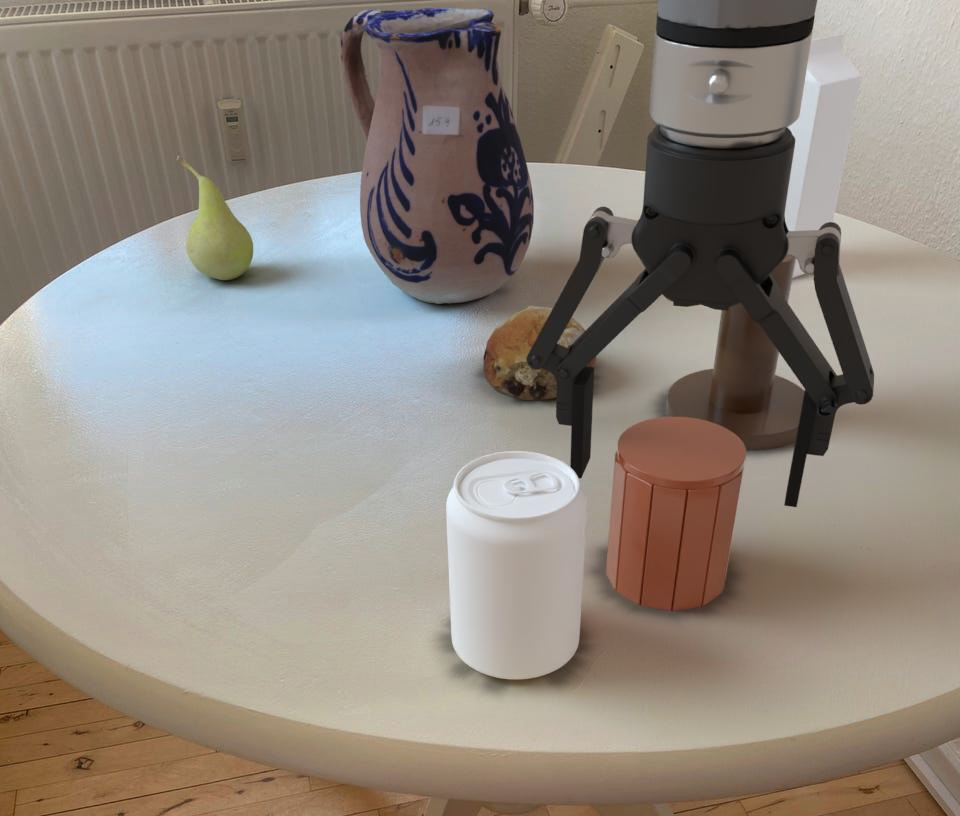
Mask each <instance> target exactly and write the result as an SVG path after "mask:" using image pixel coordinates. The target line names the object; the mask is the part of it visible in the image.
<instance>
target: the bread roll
mask: <svg viewBox="0 0 960 816" xmlns="http://www.w3.org/2000/svg"><path fill="white" fill-rule="evenodd" d="M552 309H553V307H546V306H538V305H528V306H527V307H525V308H524V309H523V310H519V311H518V312H516V313H514V314H512V315H511V316H509V317H508V318H507V319H506V320H504V322H503V323H502V324H500V325H498V326H497V327H495V328H494V330H493V331H492V333H491V335H490V336H489V338H488V340H487V341H486V346H485V350H484V354H483V374H484V377H485V379H486V382H487V383H488V384H489V385H490V386H491V388H493V390H495V391H496V392H498V393H500V394H503V395H506V396H509V397H510V398H513V399H518V400H521V401H541V400H542V401H543V400H544V401H545V400H554V399H556V386H557V383H556V379H555V377H554V375H553V374H552V373H550V372H549V371H547V370H544V369H542V368H541V369H533V368H531V367H530V366H529V365H528V363H527V355H528V353H529V352H530V350H531V348H532V346H533V344H534V342H535V341H536V339H537V337H538V335H539V333H540V331H541V329H542V328H543V326H544V324H545V322H546V320H547V318H548V317H549V315H550V313H551V311H552ZM585 331H586V330H585V328H584V327H583V325H582V324H581V323H579V321H577V320H576V319H575V318H574V317H573V316H572V317H571V319H570V321H569V323H568V325H567V326H566V328H565V330H564V332H563V334H562V335H561V337H560V339H559V341H558V342H557V344H559V345H562V346H564V347H566V348H567V347H568V346H569V345H570V346H571V345H572V344H573V343H574V342H575V341H576V340H577V339H578V338H579V337H580V336H581V335H582V334H583V333H584V332H585ZM596 362H597V356H596V357H595V358H594V359H593V360H592V361H591V362H590V363H589V364H588V365H587V367H594V368H595V366H596Z"/></svg>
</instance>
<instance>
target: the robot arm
mask: <svg viewBox="0 0 960 816" xmlns="http://www.w3.org/2000/svg"><path fill="white" fill-rule="evenodd" d="M817 5H818V0H657V11H656V12H657V13H656V21H655V24H656V25H655V30H654V42H653V53H652V54H653V55H652V68H651V83H650V95H649V107H648V108H649V109H648V113H649V115H650V118H651V120H653V122H655V123H656V124H657V125H655V127H654V128H653V129H652V130H651V132H650V133H649V134H648V135H647V141H646V155H645V171H644V185H643V186H644V187H643V201H642V211H641V214H640V216H639V217H640V218H638V220H637V219H631V218H627V217H626V218H625V217H621V216H615V215H614V213H613V211H612V210H611V208H610V207H607V206H599V207H596V209H595V210H594V211H593V212H592V215H591V216H590V218H588V219H589V220H588V221H587V222H586V223H585V225H584V228H583V232H582V239H581V246H580V253H579V260H578V262H577V263H576V265H575V267H574V269H573V270H572V272H571V274H570V276H569V278H568V280H567V282H566V283H565V285H564V287H563V289H562V291H561V292H560V294H559V297H558V298H557V301H556V302H555V304H554V305H553V307H552V308H553V309H552V311H551V313H550V315H549V317H548V318H547V320H546V322H545V324H544V326H543V328H542V329H541V331H540V333H539V335H538V337H537V339H536V341H535V342H534V344H533V346H532V348H531V350H530V352H529V353H528V355H527V363H528V365H529V366H530V367H531V368H533V369H541V368H542V369H544V370H547V371H549V372H550V373H552V374H553V375H554V377H555V379H556V383H557V386H556V398H555V403H556V405H555V418H556V420H557V423H558V425H559V426H560V425H561V426H570V427H571V428H570V461H569V462H570V463H569V466H570V467H571V468H572V469H573V470H574V471H575V473H576V474H577V476H578V478H579V479H582V478H583V475H584V474H585V472H586V469H587V467H588V464H589V462H590V460H591V456H592V455H591V453H592V452H591V451H592V432H593V431H592V430H593V429H592V428H593V409H594V408H593V407H594V406H593V405H594V381H595V379H594V378H595V366H594V367H587V365H588V364H589V363H590V362H591V361H592V360H593V359H594V358H595V357H596V358H597V356H598V355H599V354H600V353H601V352H602V351H603V350H604V349H605V348H606V347H607V346H608V345H610V343H611V342H612V341H614V340H615V339H616V337H618V335H620V334H621V333H622V332H623V331H624V330H625V329H626V328H627V327H628V326H629V325H630V324H631V323H632V322H633V321H634V320H635V319H636V318H637V317H638V316H639V315H640V314H641V313H644V312H645V311H646V310H647V309H648V308H649V307H650V306H652V304H654V303H655V301H657V300H658V299H659V298H660V297H661V296H663V298H664V297H665V299H667V300H668V301H670V302H671V303H673V304H672V305H673V307H683V308H684V307H685V308H689V307H696V306H704V307H707V308H709V309H711V310H712V309H713V310H716V311H721V310H726V311H728V310H729V307H733V306H736V305H738V304H740V303H741V304H742V305H743V306H744V308H745V309H746V311H747V312H748V314H749V315H750V316H751V318H752V319H753V320H754V321H755V322H756V323H759V324H760V326H761V327H762V328H763V330H764V331H765V333H766V334H767V336H768V337H769V338H770V340H771V341H772V343H773V344H774V346H775V347H776V348H777V350H778V351H779V355H781V357H782V359H783V360H784V361H785V363H786V364H787V366H788V368H789V369H790V370H791V371H792V374H794V376H795V377H796V379H797V380H798V381H799V383H800V384H801V386H802V388H804V391H805V392H804V398H803V403H802V409H801V414H800V420H799V425H798V430H797V436H796V441H794V448H793V452H792V459H791V464H790V468H789V469H790V470H789V475H788V481H787V484H786V485H787V486H786V491H785V499H784V506H785V507H791V508H797V507H798V502H799V496H800V491H801V487H802V481H803V476H804V471H805V467H806V461H807V455H810V456H817V457H818V456H820V457H824V456H825V454H826V453H827V451H828V450H829V447H830V441H831V437H832V432H833V426H834V422H835V418H836V417H835V416H836V413H837V411H838V410H839V409H840V408H841V407H842V406H844V405H847V404H853V403H854V404H856V405H860V406H861V405H862V406H863V405H866V404H868V403H870V402H871V401H872V399H873V397H874V391H875V390H874V387H875V385H874V384H875V371H874V368H873V366H872V362H871V359H870V356H869V353H868V350H867V346H866V343H865V340H864V337H863V334H862V331H861V328H860V327H861V326H860V324H859V321H858V318H857V315H856V312H855V309H854V305H853V303H852V299H851V296H850V293H849V290H848V287H847V284H846V281H845V278H844V275H843V272H842V269H841V265H840V259H841V258H840V256H841V255H840V254H841V242H842V229H841V226H840V225H839V224H838V223H836V222H834V221H833V222H828V223H825V224H824V225H822V226H821V227H820V229H819V230H809V231H789V230H788V228H787V226H786V222H785V207H786V200H787V194H788V187H789V181H790V174H791V167H792V161H793V154H794V148H795V137H794V136H793V135H792V132H791V131H790V130H789V129H788V128H787V127H789V126H790V125H792V124H793V123H794V122H795V121H796V120H797V119H798V118H799V115H800V109H801V102H802V96H803V89H804V83H805V77H806V70H807V64H808V57H809V51H810V44H811V40H812V37H813V30H814V24H815V19H816V15H815V14H816V9H817ZM627 244H630V245H632V249H633V250H634V252H635V254H636V255H637V257H638V259H639V260H640V262H641V264H642V265H643V267H644V268H645V269H643V270H642V271H641V272H640V274H639V275H638V276H637V277H636V278H635V279H634V281H632V283H631V284H630V285H629V286H628V287H627V288H626V289H625V290H624V291H623V292H622V293H621V294H620V295H619V296H618V297H617V298H616V299H615V300H614V301H613V302H612V303H611V304H610V305H609V306H608V307H607V308H606V309H605V310H604V311H603V312H602V313H601V314H600V315H599V316H598V318H596V319H595V320H594V321H593V322H592V323H591V324H590V325H589V326H588V327H587V328H586V330H585V332H584V333H583V334H582V335H581V336H580V337H579V338H578V339H577V340H576V341H575V342H574V343H573V344H572V345H571V346H570V345H569V346H568V347H567V348H566V347H564V346H562V345H559V344H557V342H558V341H559V339H560V337H561V335H562V334H563V332H564V330H565V328H566V326H567V325H568V323H569V321H570V319H571V317H573V316H574V314H575V312H576V311H577V308H578V306H579V305H580V304H581V302H582V300H583V298H584V296H585V294H586V293H587V291H588V289H589V287H590V286H591V285H592V281H593V280H594V278H595V276H596V275H597V273H598V271H599V269H600V267H601V266H602V264H603V262H604V260H605V259H613V258H614V257H616V256H617V255H618V253H619V251H620V249H621V248H622V246H625V245H627ZM786 255H788V256H793V257H795V258H796V259H797V260H798V262H799V266H800V269H801V270H802V271H803V272H804V273H806V274H805V275H813V285H814V291H815V294H816V298H817V301H818V304H819V307H820V310H821V313H822V316H823V319H824V322H825V325H826V327H827V331H828V334H829V336H830V340H831V342H832V345H833V349H834V352H835V354H836V358H837V361H838V364H839V366H840V369H841V373H842V374H837V373H836V371H835V370H834V369H833V367H832V365H831V364H830V362H829V361H828V360H827V358H826V357H825V356H824V354H823V353H822V351H821V350H820V347H818V345H817V344H816V342H815V341H814V340H813V339H814V338H812V336H811V335H810V334H809V332H808V330H807V329H806V327H805V326H804V325H803V323H802V321H801V320H800V319H799V318H798V316H797V314H796V313H795V311H794V310H793V308H792V307H791V306H790V304H789V302H788V303H787V301H786V300H785V298H784V297H783V295H782V293H781V290H780V288H779V285H778V284H777V282H776V281H775V279H774V278H773V276H772V275H771V273H772V272H773V271H774V270H775V269H776V268H777V266H778V265H779V264H780V263H781V262H782V261H783V260H784V259H785V257H786Z"/></svg>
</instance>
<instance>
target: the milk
mask: <svg viewBox="0 0 960 816" xmlns="http://www.w3.org/2000/svg"><path fill="white" fill-rule="evenodd" d="M845 37H846V36H845V33H837V34H834V35H829V36H823V37H819V38H814V39H811V44H810V51H809V57H808V64H807V70H806V77H805V83H804V89H803V96H802V102H801V109H800V115H799V118H798V119H797V120H796V121H795V122H794V123H793V124H792V125H790V126H789V127H787V128H788V129H789V130H790V131H791V132H792V135H793V136H794V137H795V148H794V154H793V161H792V167H791V174H790V181H789V187H788V194H787V200H786V207H785V222H786V226H787V228H788V230H789V231H809V230H819V229H820V227H821V226H822V225H824V224H825V223H828V222H834V220H835V216H836V209H837V204H838V199H839V194H840V189H841V183H842V179H843V174H844V168H845V165H846V164H845V163H846V159H847V155H848V149H849V143H850V138H851V134H852V130H853V129H852V128H853V125H854V124H853V123H854V118H855V113H856V108H857V103H858V98H859V93H860V88H861V83H862V78H863V74H862V73H861V72H860V70H859V69H857V67H856V66H855V65H854V63H853V62H852V61H851V60H850V58H849V57H848V56H847V54H845V52H844V51H843V48H844V44H845ZM803 275H807V274H806V273H804V272H803V271H802V270H801V269H800V266H799V262H798V260H797V259H796V261H795V267H794V272H793V278H792V279H794V278H796V277H799V276H803Z"/></svg>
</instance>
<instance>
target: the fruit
mask: <svg viewBox="0 0 960 816" xmlns="http://www.w3.org/2000/svg"><path fill="white" fill-rule="evenodd" d="M176 162H177V163H179V164H180V165H182V166H183V167H185V169H187V170H189V171H190V172H191V173H192V174H193V176H195V177H196V179H197V181H198V212H197V215H196V217H195V219H194V221H193V222H192V224H191V225H190V227H189V229H188V232H187V235H186V239H185V240H186V242H185V243H186V244H185V248H186V254H187V256H188V258H189V260H190V262H191V264H192V265H193V266H194V267H195V269H196V270H197V271H198V272H200V273H201V274H203V275H205V276H207V277H209V278H212V279H216V280H219V281H231V280H235V279H237V278H239V277H241V276H242V275H244V274H245V272H246V271H248V269H249V268H250V265H251V263H252V260H253V257H254V242H253V239H252V236H251V234H250V232H249V231H248V229H247V228H246V227H245V226H244V224H243V223H241V222H240V220H239V219H238V218H237V217H236V215H234V213H233V212H232V210H231V209H230V207H229V205H228V203H227V201H226V200H225V198H224V197H223V194H222V193H221V191H220V190H219V188H218V187H217V185H216V184H215V182H213V180H211V179H210V178H208V177H206V176H204V175H201V174H200V173H199V172H197V170H196V169H194V168H193V167H192V166H191V165H190V164H189V163H188V162H187V161H186V160H185V159H183V157H182V156H180V155H177V158H176Z"/></svg>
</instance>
